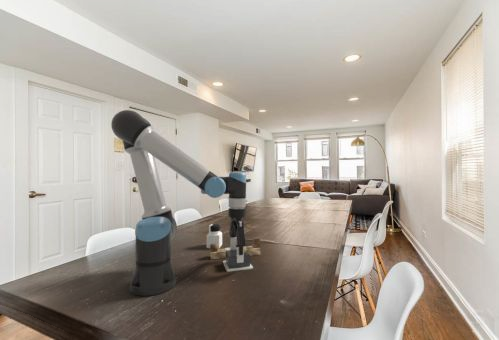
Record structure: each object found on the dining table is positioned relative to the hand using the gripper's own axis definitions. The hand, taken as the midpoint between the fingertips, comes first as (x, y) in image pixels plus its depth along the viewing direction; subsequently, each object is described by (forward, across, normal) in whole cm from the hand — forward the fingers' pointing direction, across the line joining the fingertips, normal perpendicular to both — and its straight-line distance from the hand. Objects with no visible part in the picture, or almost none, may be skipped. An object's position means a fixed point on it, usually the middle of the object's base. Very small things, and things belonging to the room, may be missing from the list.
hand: (236, 256), depth 105 cm
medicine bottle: (+4, +30, +6) cm, 31 cm away
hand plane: (+4, +13, -2) cm, 14 cm away
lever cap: (+3, 0, 0) cm, 3 cm away
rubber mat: (+4, 0, 0) cm, 4 cm away
